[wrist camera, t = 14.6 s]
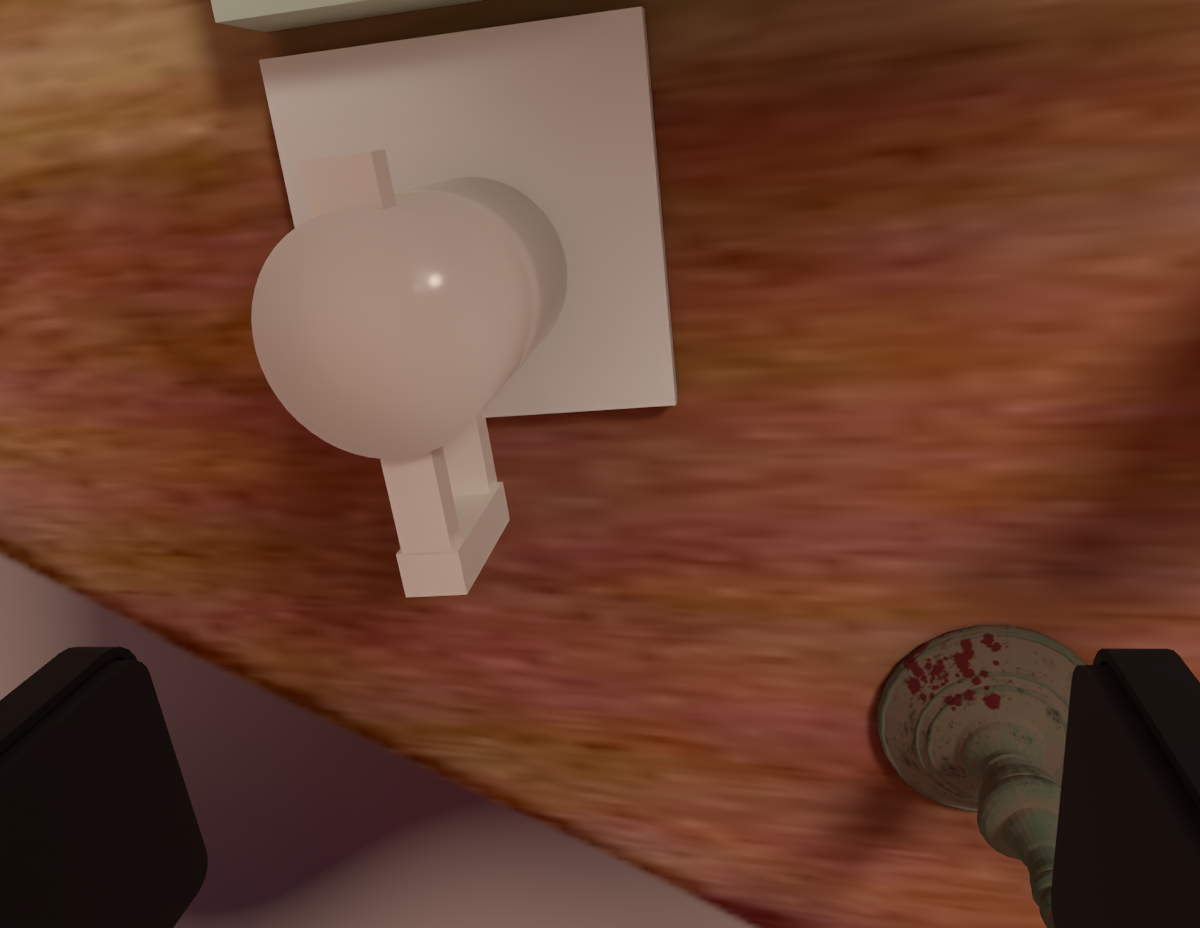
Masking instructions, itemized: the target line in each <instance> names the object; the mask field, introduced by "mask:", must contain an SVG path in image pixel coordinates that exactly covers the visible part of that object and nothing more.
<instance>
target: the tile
mask: <svg viewBox="0 0 1200 928" xmlns="http://www.w3.org/2000/svg"><path fill="white" fill-rule="evenodd" d="M259 63H260V68H261V72H262V77H263V82H264V87H265V91H266V96H267V101H268V105H269V110H270V115H271V119H272V124H273V129H274V134H275V138H276V143H277V148H278V152H279V157H280V162H281V166H282V171H283V176H284V181H285V185H286V190H287V195H288V199H289V204H290V209H291V214H292V218H293V223H294V228H296V227H297V226H299V225H300V224H302V223H304V222H306V221H308V220H309V219H311V218H312V215H311V210H310V206H309V202H308V198H307V193H306V189H305V185H304V181H303V176H302V172H301V168H300V164H299V162H301V161H308V160H315V159H322V158H329V157H336V156H343V155H350V154H357V153H364V152H371V151H378V150H385V152H386V157H387V162H388V166H389V171H390V176H391V181H392V186H393V191H394V194H398V193H402V192H405V191H409V190H413V189H417V188H420V187H424V186H428V185H432V184H435V183H439V182H443V181H447V180H451V179H456V178H464V177H478V178H486V179H491V180H495V181H498V182H501V183H504V184H506V185H509V186H510V187H512V188H514V189H516V190H518V191H520V192H521V193H522V194H524V195H525V196H527V197H528V198H530V199H531V200H532V201H533V202H534V203H535V204H536V205H537V206H538V207H539V208H540V209H541V210H542V211H543V213H544V214H545V215H546V216H547V217H548V219H549V220H550V222H551V224H552V225H553V227H554V228H555V230H556V232H557V234H558V236H559V239H560V241H561V244H562V247H563V250H564V254H565V259H566V264H567V290H566V295H565V300H564V304H563V307H562V310H561V312H560V314H559V317H558V319H557V321H556V323H555V324H554V326H553V327H552V329H551V330H550V332H549V333H548V334H547V335H546V336H545V337H544V339H543V340H542V341H541V342H540V343H539V344H538V345H537V347H536V348H535V349H534V350H533V351H532V352H531V354H530V355H529V356H528V357H527V358H526V359H525V361H524V362H523V363H522V364H521V365H520V366H519V368H518V369H517V370H516V371H515V372H514V373H513V374H512V376H511V377H510V378H509V379H508V380H507V381H506V383H505V384H504V385H503V386H502V387H501V388H500V390H499V391H498V392H497V393H496V394H495V395H494V397H493V398H492V399H491V400H490V401H489V402H488V403H487V405H486V406H485V407H484V413H485V418H488V417H504V416H519V415H535V414H550V413H565V412H581V411H596V410H611V409H627V408H642V407H658V406H673V405H676V403H677V386H676V374H675V362H674V350H673V338H672V327H671V315H670V303H669V291H668V279H667V267H666V256H665V244H664V232H663V220H662V208H661V196H660V184H659V173H658V161H657V149H656V137H655V125H654V113H653V102H652V90H651V78H650V66H649V54H648V42H647V31H646V19H645V9H644V8H643V7H642V6H640V7H633V8H626V9H619V10H612V11H605V12H598V13H590V14H583V15H576V16H569V17H562V18H555V19H548V20H540V21H533V22H526V23H519V24H512V25H505V26H498V27H490V28H483V29H476V30H469V31H462V32H455V33H448V34H440V35H433V36H426V37H419V38H412V39H405V40H398V41H390V42H383V43H376V44H369V45H362V46H355V47H348V48H340V49H333V50H326V51H319V52H312V53H305V54H298V55H290V56H283V57H276V58H269V59H262V60H259Z"/></svg>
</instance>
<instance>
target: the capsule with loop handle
mask: <svg viewBox="0 0 1200 928" xmlns="http://www.w3.org/2000/svg"><path fill="white" fill-rule="evenodd" d="M299 164H300V168H301V172H302V176H303V181H304V185H305V189H306V193H307V198H308V202H309V206H310V210H311V215H312V218H311V219H309V220H308V221H306V222H304V223H302V224H300V225H299V226H297V227H296V228H295V229H293V230H292V231H291V232H289V233H288V234H287V235H286V236H285V237H284V238H283V239H282V240H281V241H280V242H279V243H278V244H277V245H276V246H275V248H274V249H273V251H272V252H271V254H270V255H269V256H268V258H267V259H266V261H265V263H264V265H263V268H262V270H261V272H260V274H259V277H258V280H257V283H256V286H255V290H254V296H253V301H252V315H251V322H252V335H253V340H254V345H255V350H256V354H257V357H258V360H259V363H260V366H261V368H262V371H263V373H264V375H265V377H266V379H267V381H268V383H269V385H270V387H271V388H272V390H273V391H274V393H275V395H276V396H277V398H278V399H279V400H280V402H281V403H282V404H283V406H284V407H285V408H286V409H287V410H288V412H289V413H290V414H291V415H292V416H293V417H294V418H295V419H296V420H297V421H298V422H299V423H300V424H302V425H303V426H304V427H305V428H306V429H308V430H309V431H310V432H311V433H313V434H314V435H316V436H318V437H319V438H321V439H322V440H324V441H325V442H327V443H329V444H331V445H333V446H335V447H337V448H339V449H342V450H345V451H347V452H350V453H353V454H357V455H361V456H365V457H369V458H378V459H380V461H381V465H382V469H383V474H384V478H385V482H386V487H387V491H388V495H389V500H390V504H391V509H392V513H393V517H394V522H395V526H396V530H397V535H398V539H399V543H400V550H399V551H398V552H397V554H396V557H397V561H398V566H399V570H400V574H401V579H402V583H403V587H404V591H405V596H406V597H427V596H448V595H467V594H468V592H469V590H470V589H471V587H472V585H473V583H474V582H475V580H476V578H477V576H478V575H479V573H480V571H481V569H482V568H483V566H484V564H485V562H486V561H487V559H488V557H489V555H490V554H491V552H492V550H493V548H494V547H495V545H496V543H497V541H498V540H499V538H500V536H501V534H502V533H503V531H504V529H505V527H506V525H507V524H508V522H509V520H510V519H509V513H508V508H507V502H506V497H505V491H504V486H503V482H497V477H496V472H495V467H494V461H493V456H492V450H491V445H490V440H489V434H488V429H487V423H486V418H485V413H484V407H485V406H486V405H487V403H488V402H489V401H490V400H491V399H492V398H493V397H494V395H495V394H496V393H497V392H498V391H499V390H500V388H501V387H502V386H503V385H504V384H505V383H506V381H507V380H508V379H509V378H510V377H511V376H512V374H513V373H514V372H515V371H516V370H517V369H518V368H519V366H520V365H521V364H522V363H523V362H524V361H525V359H526V358H527V357H528V356H529V355H530V354H531V352H532V351H533V350H534V349H535V348H536V347H537V345H538V344H539V343H540V342H541V341H542V340H543V339H544V337H545V336H546V335H547V334H548V333H549V332H550V330H551V329H552V327H553V326H554V324H555V323H556V321H557V319H558V317H559V314H560V312H561V310H562V307H563V304H564V300H565V295H566V290H567V264H566V259H565V254H564V250H563V247H562V244H561V241H560V239H559V236H558V234H557V232H556V230H555V228H554V227H553V225H552V224H551V222H550V220H549V219H548V217H547V216H546V215H545V214H544V213H543V211H542V210H541V209H540V208H539V207H538V206H537V205H536V204H535V203H534V202H533V201H532V200H531V199H530V198H528V197H527V196H525V195H524V194H522V193H521V192H520V191H518V190H516V189H514V188H512V187H510V186H509V185H506V184H504V183H501V182H498V181H495V180H491V179H486V178H478V177H464V178H456V179H451V180H447V181H443V182H439V183H435V184H432V185H428V186H424V187H420V188H417V189H413V190H409V191H405V192H402V193H398V194H394V191H393V186H392V181H391V176H390V171H389V166H388V162H387V157H386V152H385V150H378V151H371V152H364V153H357V154H350V155H343V156H336V157H329V158H322V159H315V160H308V161H301V162H299Z"/></svg>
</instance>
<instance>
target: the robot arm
mask: <svg viewBox="0 0 1200 928" xmlns="http://www.w3.org/2000/svg"><path fill="white" fill-rule="evenodd" d="M207 860H208V859H207V852H206V848H205V845H204V842H203V839H202V836H201V833H200V830H199V827H198V824H197V820H196V817H195V814H194V811H193V808H192V805H191V801H190V798H189V795H188V792H187V789H186V786H185V783H184V779H183V776H182V773H181V770H180V767H179V764H178V761H177V758H176V754H175V751H174V748H173V745H172V742H171V739H170V736H169V732H168V729H167V726H166V723H165V720H164V717H163V714H162V711H161V707H160V704H159V702H158V698H157V695H156V692H155V689H154V685H153V682H152V680H151V676H150V673H149V671H148V669H147V667H146V666H145V665H144V664H143V663H142V662H139V661H137V659H136V657H135V656H134V654H133V653H131V651H130V650H128V649H125V648H122V647H73V648H68V649H66V650H64V651H63V652H61V653H59V654H58V655H57V656H56V657H54V658H53V659H52V660H51V661H49V662H48V663H47V664H46V665H44V666H43V667H42V668H41V669H39V670H38V671H37V672H36V673H34V674H33V675H32V676H30V677H29V678H28V679H27V680H26V681H24V682H23V683H22V684H20V685H19V686H18V687H17V688H15V689H14V690H13V691H12V692H11V693H9V694H8V695H7V696H5V697H4V698H3V699H2V700H0V928H173V927H174V926H175V924H176V923H177V922H178V920H179V919H180V917H181V916H182V914H183V913H184V912H185V910H186V909H187V907H188V906H189V904H190V903H191V902H192V900H193V899H194V897H195V896H196V895H197V893H198V891H199V890H200V888H201V886H202V884H203V881H204V878H205V876H206V871H207ZM1051 908H1052V916H1053V922H1054V927H1055V928H1200V683H1199V681H1198V680H1197V679H1196V677H1195V676H1194V675H1193V673H1192V672H1191V671H1190V669H1189V668H1188V667H1187V665H1186V664H1185V663H1184V661H1183V660H1182V659H1181V657H1180V656H1179V655H1178V654H1177V653H1176V652H1175V651H1174V650H1170V649H1101V650H1099V651H1098V652H1097V654H1096V656H1095V658H1094V662H1093V665H1078V666H1076V667H1075V669H1074V671H1073V675H1072V681H1071V691H1070V701H1069V712H1068V722H1067V732H1066V742H1065V753H1064V763H1063V773H1062V784H1061V794H1060V804H1059V814H1058V825H1057V835H1056V845H1055V856H1054V866H1053V876H1052V887H1051Z"/></svg>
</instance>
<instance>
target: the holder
mask: <svg viewBox="0 0 1200 928" xmlns="http://www.w3.org/2000/svg"><path fill="white" fill-rule="evenodd" d="M478 1H485V0H211V4H212V9H213V13H214V18H215V22H216V23H220V24H225V25H230V26H235V27H241V28H246V29H251V30H256V31H261V32H272V31H278V30H285V29H292V28H299V27H306V26H313V25H320V24H327V23H333V22H340V21H347V20H354V19H361V18H368V17H375V16H382V15H389V14H395V13H402V12H409V11H416V10H423V9H430V8H437V7H444V6H450V5H457V4H464V3H471V2H478Z"/></svg>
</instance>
